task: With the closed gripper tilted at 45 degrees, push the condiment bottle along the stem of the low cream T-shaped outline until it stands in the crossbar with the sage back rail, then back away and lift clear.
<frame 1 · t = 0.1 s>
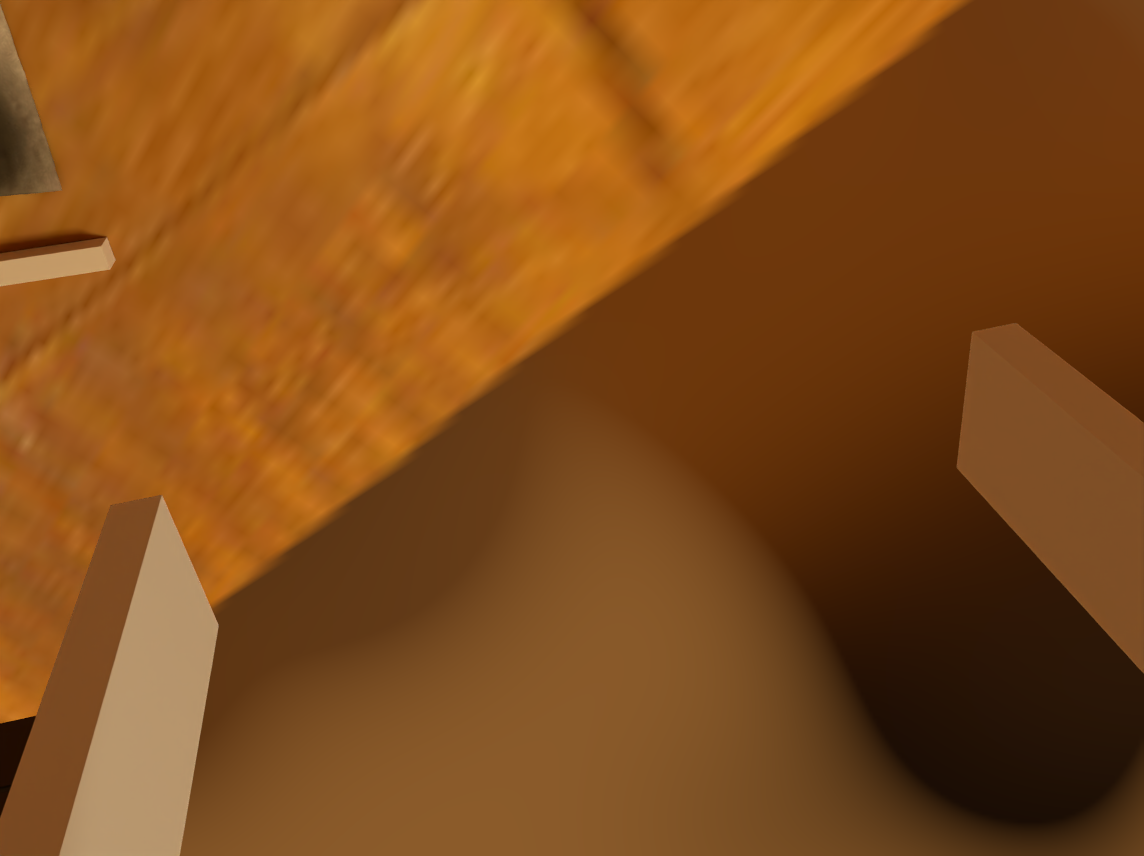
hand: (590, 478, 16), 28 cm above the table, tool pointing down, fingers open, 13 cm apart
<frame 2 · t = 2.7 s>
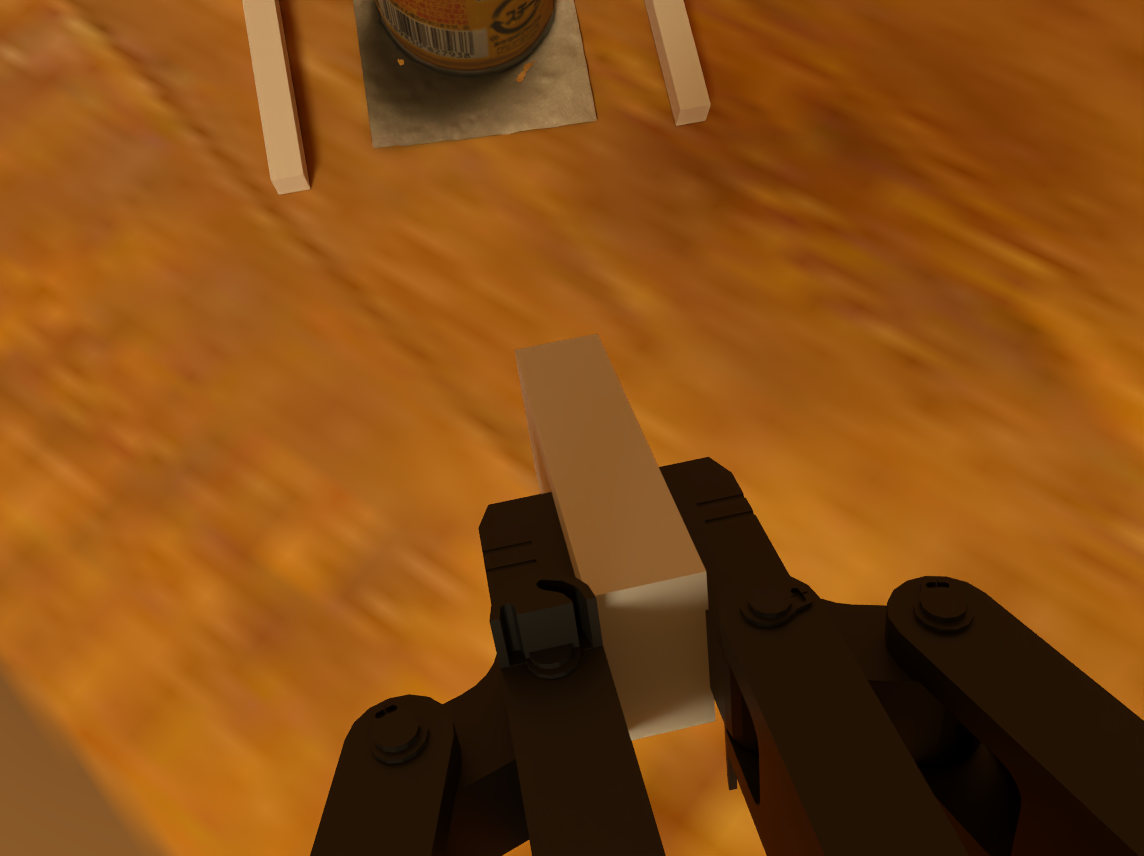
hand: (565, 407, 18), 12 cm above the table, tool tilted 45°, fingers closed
condiment: (468, 27, 33), on the table
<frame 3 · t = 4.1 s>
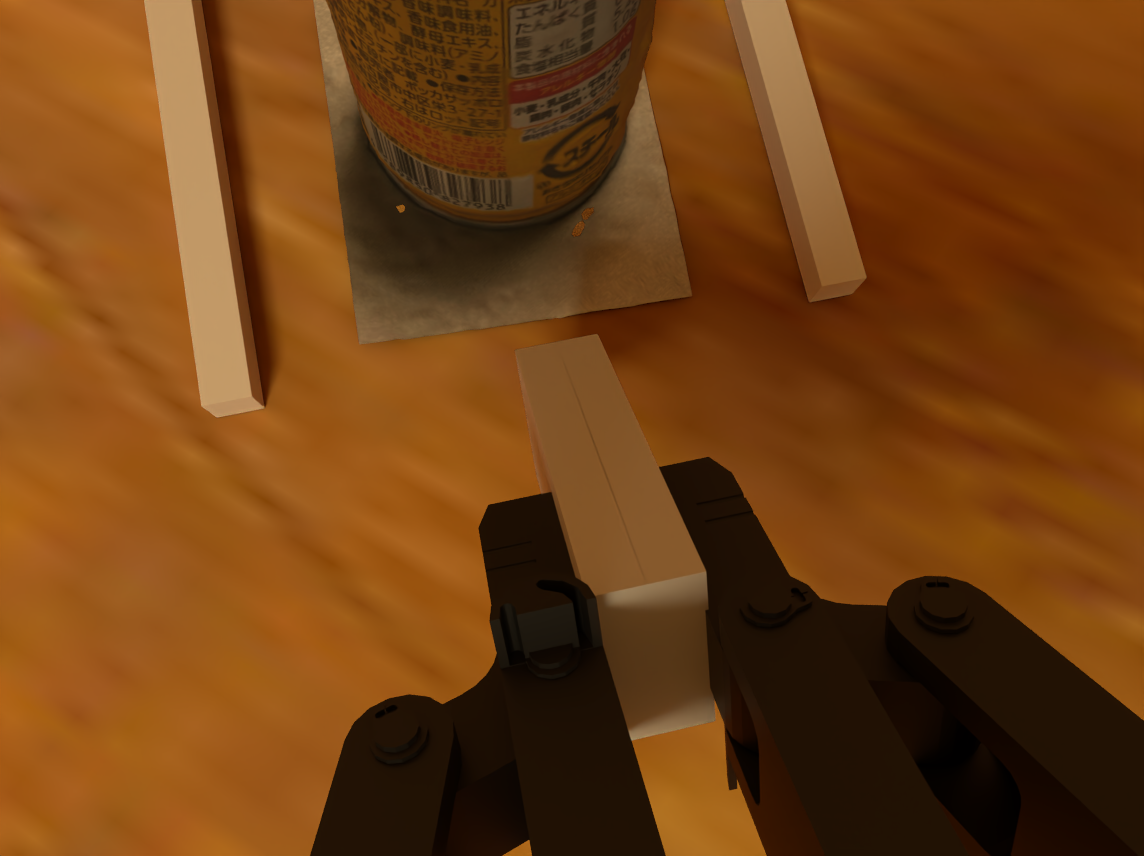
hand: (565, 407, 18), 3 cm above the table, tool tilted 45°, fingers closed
condiment: (498, 152, 23), on the table
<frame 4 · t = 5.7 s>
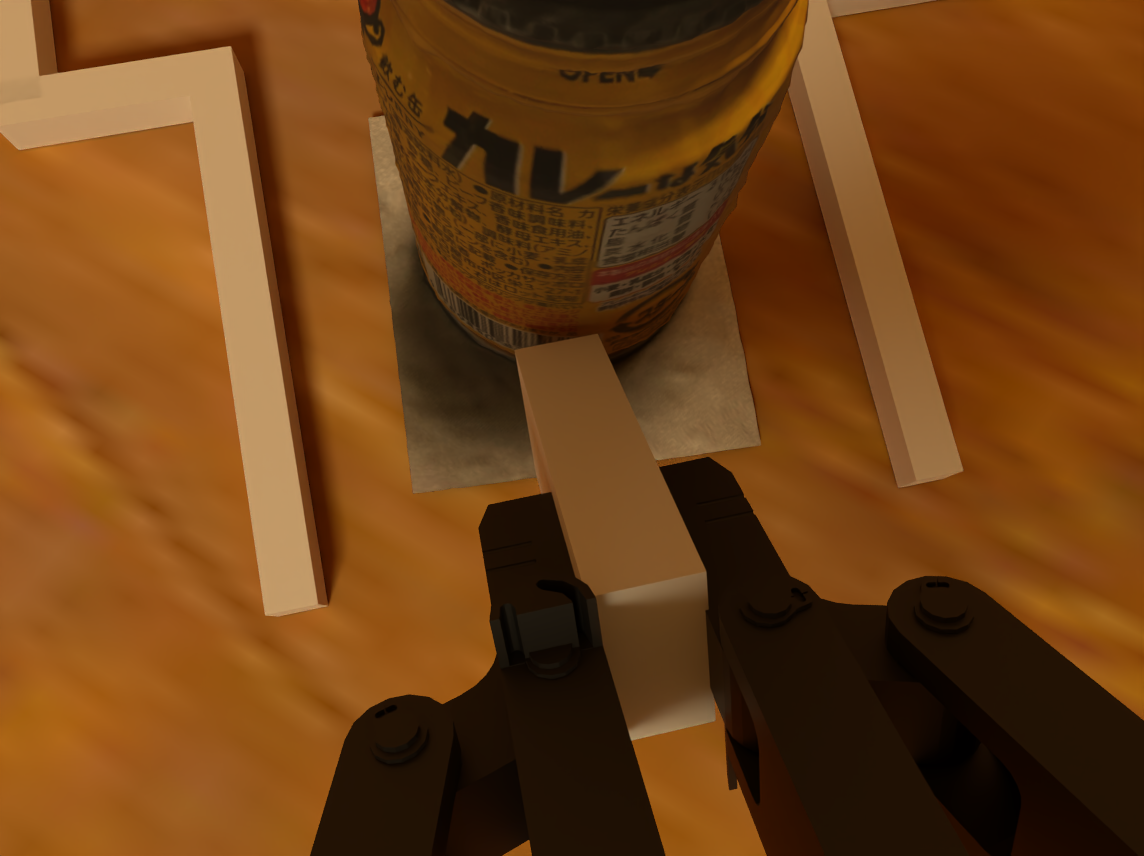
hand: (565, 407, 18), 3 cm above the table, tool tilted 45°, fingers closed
condiment: (559, 283, 22), on the table, touching gripper
t outline: (507, 29, 23), on the table
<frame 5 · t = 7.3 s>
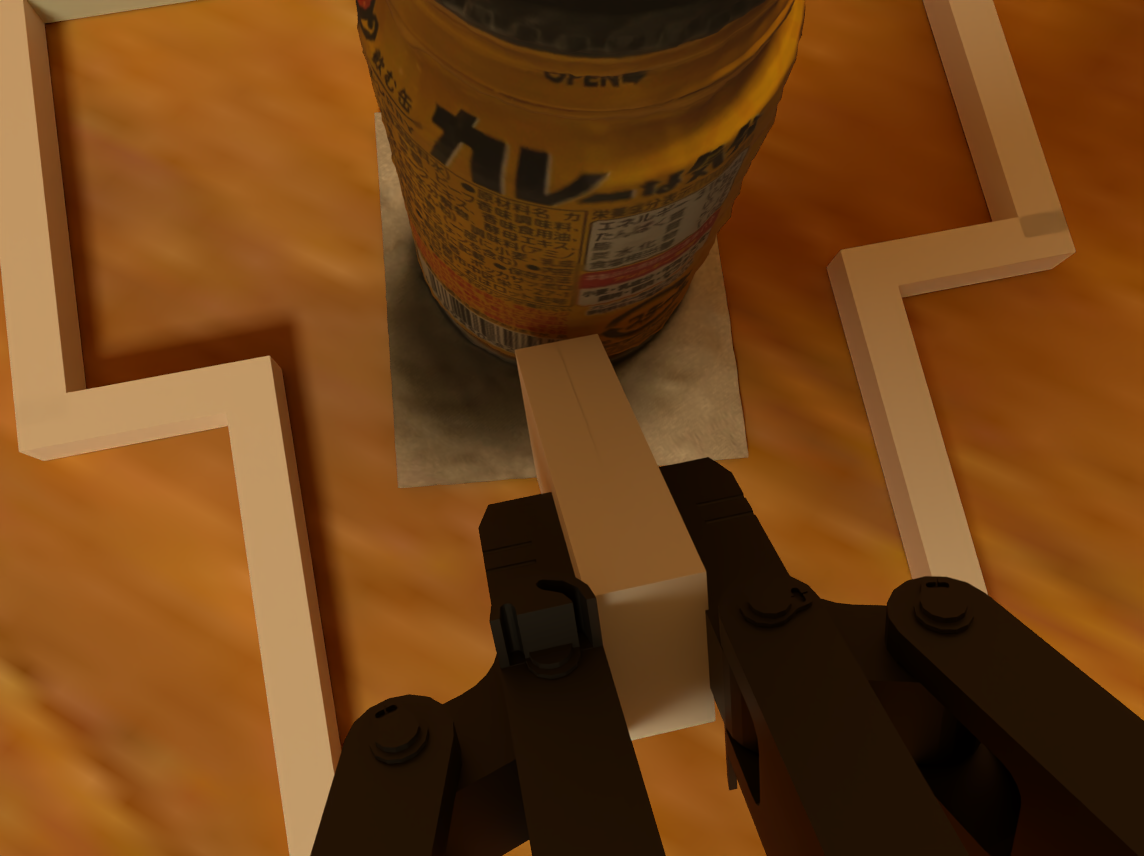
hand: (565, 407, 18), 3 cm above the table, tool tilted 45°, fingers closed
condiment: (555, 286, 22), on the table, touching gripper
t outline: (560, 316, 21), on the table
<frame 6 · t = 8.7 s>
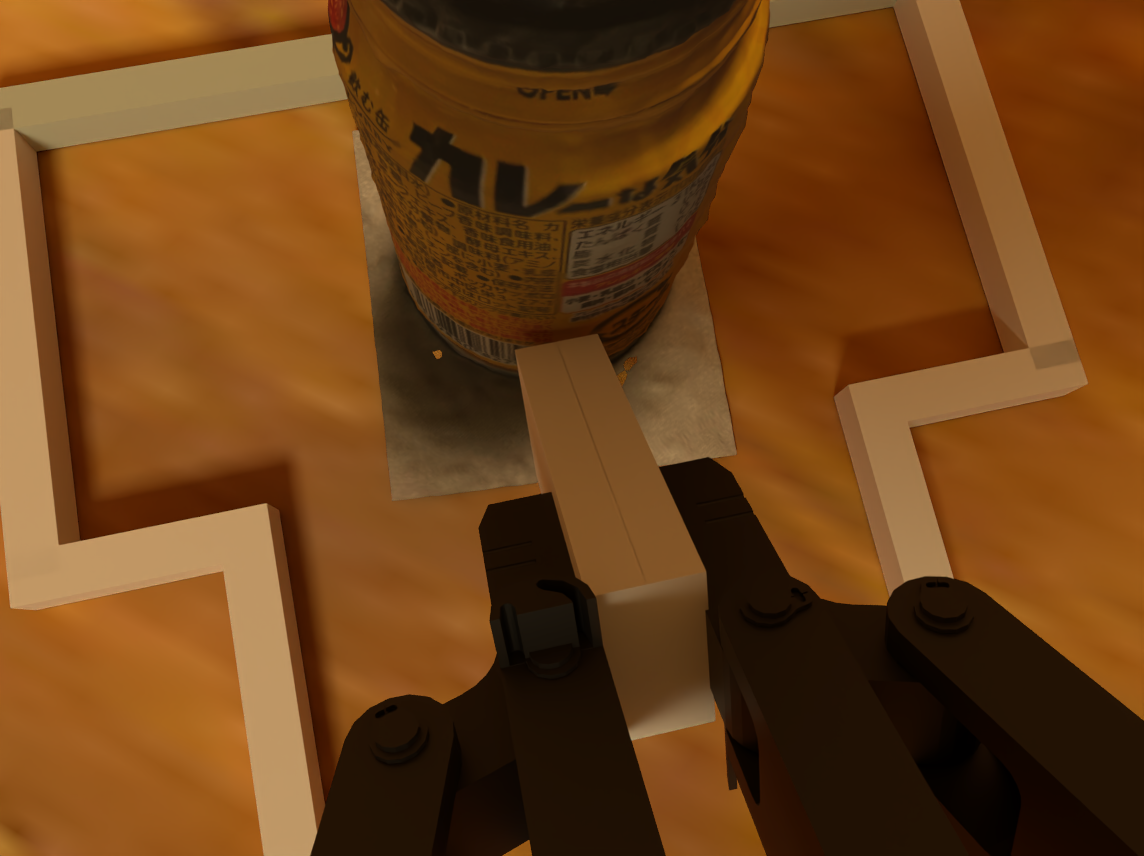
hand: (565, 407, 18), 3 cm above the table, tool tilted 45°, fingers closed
condiment: (539, 294, 22), on the table, touching gripper
t outline: (563, 452, 21), on the table
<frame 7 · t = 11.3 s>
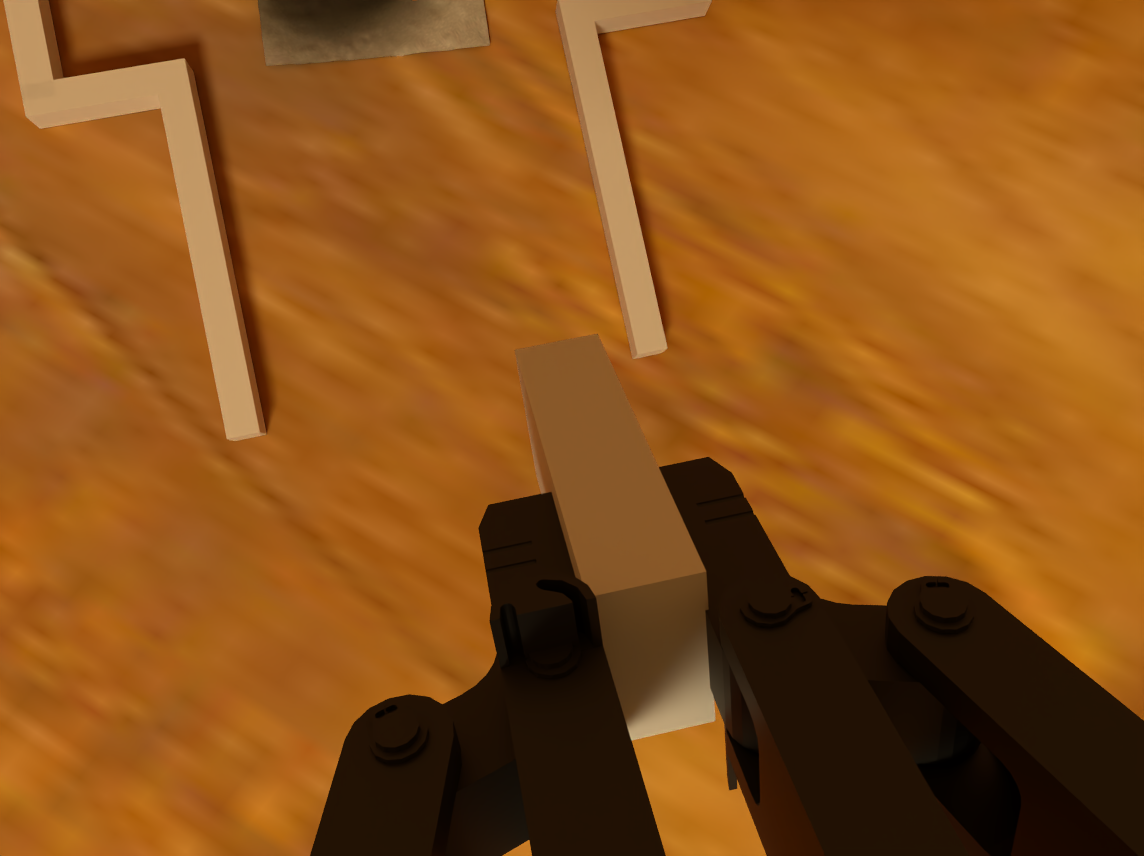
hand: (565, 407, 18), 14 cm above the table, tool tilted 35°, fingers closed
t outline: (378, 41, 33), on the table
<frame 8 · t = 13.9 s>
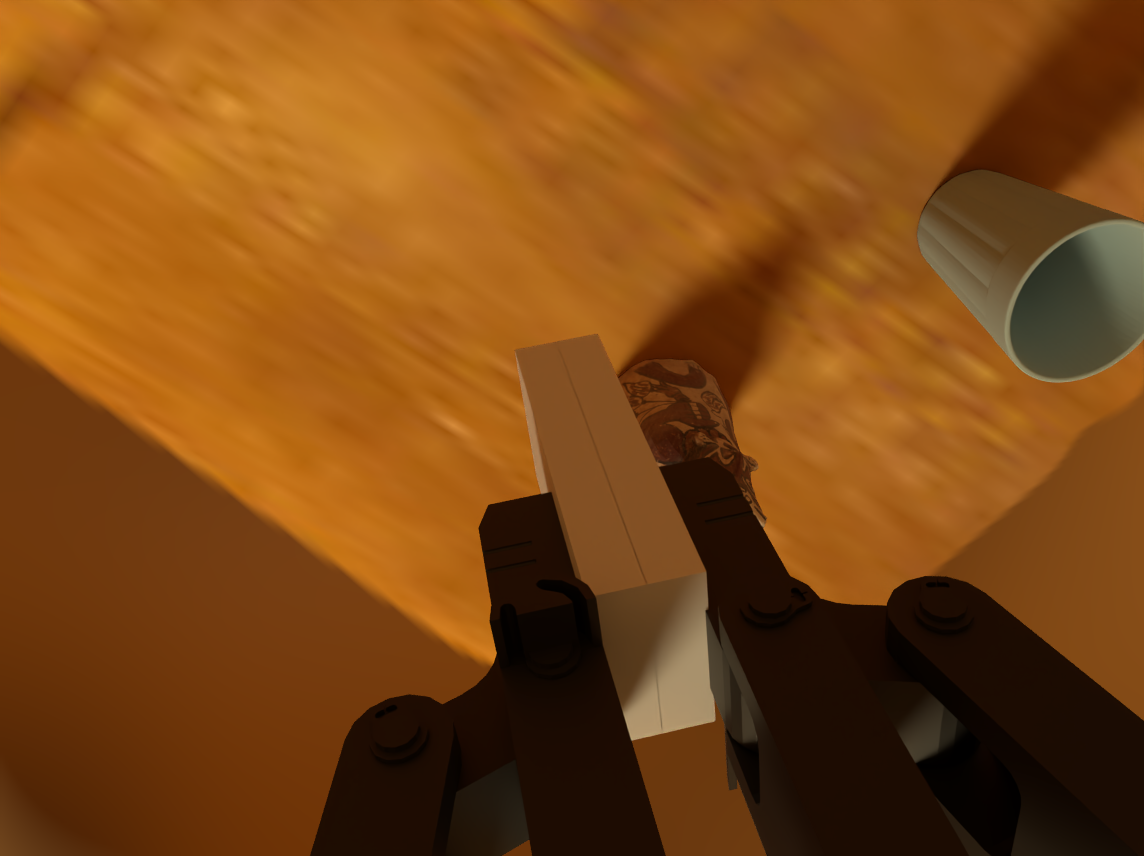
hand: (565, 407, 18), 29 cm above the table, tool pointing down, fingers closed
cup: (964, 219, 51), on the table
figurine: (658, 413, 54), on the table
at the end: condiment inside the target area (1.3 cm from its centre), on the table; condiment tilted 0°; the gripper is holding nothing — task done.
